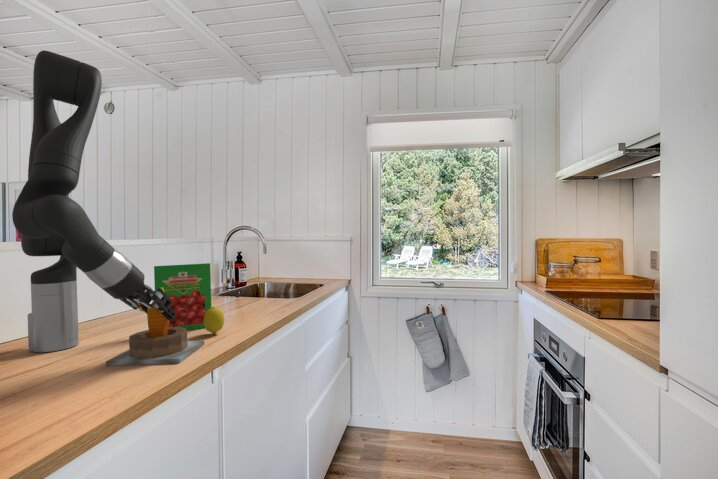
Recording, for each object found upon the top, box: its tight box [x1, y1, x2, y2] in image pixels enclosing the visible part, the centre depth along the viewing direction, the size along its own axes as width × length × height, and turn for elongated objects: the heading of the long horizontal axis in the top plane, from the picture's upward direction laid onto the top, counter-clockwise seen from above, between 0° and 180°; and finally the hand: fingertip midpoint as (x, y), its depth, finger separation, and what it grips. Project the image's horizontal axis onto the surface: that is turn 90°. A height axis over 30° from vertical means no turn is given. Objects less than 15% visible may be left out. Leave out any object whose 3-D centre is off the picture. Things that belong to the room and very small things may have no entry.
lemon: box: [204, 306, 225, 335], centre depth 104 cm, size 6×6×8 cm
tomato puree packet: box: [153, 262, 212, 331], centre depth 109 cm, size 15×1×20 cm, turn 118°
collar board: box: [105, 327, 205, 367], centre depth 87 cm, size 16×14×5 cm
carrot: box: [146, 287, 169, 338], centre depth 87 cm, size 5×5×15 cm
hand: (165, 316), depth 88 cm, fingers closed on carrot, 5 cm apart
